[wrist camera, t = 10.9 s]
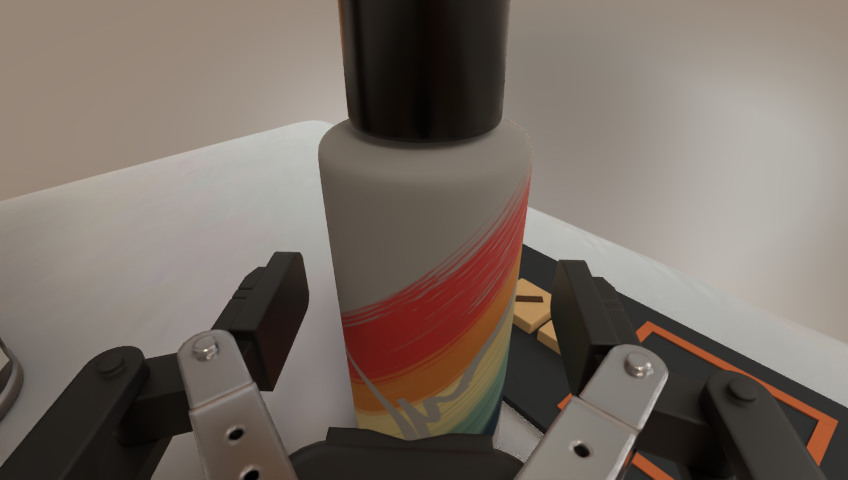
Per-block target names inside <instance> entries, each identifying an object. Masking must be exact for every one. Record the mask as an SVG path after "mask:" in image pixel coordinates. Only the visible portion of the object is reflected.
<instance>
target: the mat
mask: <svg viewBox="0 0 848 480" xmlns="http://www.w3.org/2000/svg"><path fill="white" fill-rule="evenodd" d="M557 263H558V261H556V260H554V259H552V258H550V257H548V256H546V255H544V254H542V253H540V252H538V251H536V250H534V249H532V248H530V247H528V246H526V245H524V244H522V252H521V259H520V267H519V275H518V283H517V290H516V298H515V306H514V314H513V321H512V329H511V337H510V345H509V352H508V360H507V368H506V376H505V384H504V391H503V400H504V401H505V402H507V403H508V404H509V405H510V406H511V407H513V408H514V409H515V410H516V411H518V412H519V413H520V414H521V415H523V416H524V417H525V418H526V419H527V420H529V421H530V422H531V423H532V424H534V425H535V426H536V427H537V428H538V429H540V430H541V431H542V432H543V433H545V434H546V432H547V431H548V429H549V428H550V426H551V425H552V423H553V422H554V421H555V419H556V418H557V416H558V415H559V413H560V412H561V411H562V409H563V408H564V406H565V405H566V403H567V402H568V401H569V399H570V398H571V397H572V395H571V391H570V387H569V384H568V380H567V376H566V372H565V369H564V365H563V361H562V357H561V354H560V350H559V346H558V342H557V339H556V335H555V331H554V327H553V324H552V320H551V314H550V301H551V294H552V289H553V283H554V278H555V273H556V267H557ZM616 292H617V291H616ZM617 294H618V296H619V298H620V303H622V305H623V307H624V309H625V313H627V315H628V317H629V319H630V321H631V323H632V325H633V327H634V330H635V332H636V334H637V336H638V338H639V340H640V342H641V344H642V346H643V348H645V349H648V350H650V351H651V352H653V353H655V354H656V355H657V356H658V357H660V358H661V360H662V361H663V362H664V363H665V365H666V367H667V369H668V370H669V371H671V372H674V373H677V374H680V375H683V376H687V377H690V378H694V379H698V380H701V381H705V382H706V380H707V378H708V376H709V375H710V374H711V373H713V372H715V371H719V370H730V371H735V372H739V373H742V374H745V375H747V376H749V377H751V378H753V379H755V380H756V381H758V382H759V383H761V384H762V385H763V386H764V387H765V388H767V390H768V391H769V392H770V393H771V394H772V395H773V397H774V398H775V400H776V401H777V403H778V404H779V406H780V408H781V409H782V411H783V412H784V414H785V415H786V417H787V418H788V420H789V421H790V423H791V424H792V426H793V428H794V429H795V431H796V432H797V434H798V435H799V437H800V438H801V440H802V441H803V443H804V444H805V446H806V447H807V449H808V451H809V452H810V454H811V455H812V457H813V458H814V460H815V461H816V463H817V464H818V466H819V467H820V469H821V471H822V472H823V474H824V475H825V477H826V478H827V480H848V408H847V407H845V406H843V405H841V404H839V403H837V402H835V401H833V400H831V399H829V398H827V397H825V396H823V395H821V394H819V393H817V392H815V391H813V390H811V389H809V388H807V387H805V386H803V385H801V384H799V383H797V382H795V381H793V380H791V379H789V378H787V377H785V376H783V375H781V374H779V373H777V372H776V371H774V370H772V369H770V368H768V367H766V366H764V365H762V364H760V363H758V362H756V361H754V360H752V359H750V358H748V357H746V356H744V355H742V354H740V353H738V352H736V351H734V350H732V349H730V348H728V347H726V346H724V345H722V344H720V343H718V342H716V341H714V340H712V339H710V338H708V337H706V336H704V335H702V334H700V333H698V332H696V331H694V330H692V329H690V328H688V327H686V326H684V325H683V324H681V323H679V322H677V321H675V320H673V319H671V318H669V317H667V316H665V315H663V314H661V313H659V312H657V311H655V310H653V309H651V308H649V307H647V306H645V305H643V304H641V303H639V302H637V301H635V300H633V299H631V298H629V297H627V296H625V295H623V294H621V293H619V292H617ZM624 480H681V478H680V475H679V472H678V470H677V467H676V464H675V462H672V461H669V460H666V459H663V458H660V457H657V456H654V455H651V454H648V453H645V452H642V451H640V450H638V451H637V453H636V455H635V457H634V459H633V461H632V463H631V465H630V467H629V469H628V472H627V474H626V476H625V478H624Z"/></svg>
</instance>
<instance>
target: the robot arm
mask: <svg viewBox="0 0 848 480" xmlns="http://www.w3.org/2000/svg"><path fill="white" fill-rule="evenodd" d="M308 304H309V289H308V284H307V278H306V273H305V267H304V262H303V257H302V254H301V253H300V252H275V253H274V254H273V256H272V258H271V259H270V261H269V262H268V264H267V266H266V267H258V268H256V269H255V270H254V271H252V272H251V273H250V274H248V275H247V276H246V277H245V278H244V280H243V281H242V283H241V284H240V286H239V287H238V290H236V292H235V293H234V295H233V296H232V299H231V300H230V301H229V303H228V304H227V306H226V307H225V309H224V310H223V312H222V313H221V315H220V316H219V318H218V319H217V321H216V322H215V324H214V325H213V327H212V328H211V330H209V331H205V332H202V333H199V334H197V335H195V336H193V337H191V338H190V339H188V340H187V341H186V342H185V343H184V344H183V345H182V346H181V347H180V349H179V350H178V352H177V353H173V354H168V355H164V356H159V357H154V358H149V359H145V357H144V355H143V353H142V351H141V350H140V349H139V348H136V347H133V346H122V347H116V348H113V349H110V350H107V351H105V352H103V353H101V354H99V355H97V356H96V357H94V358H93V359H91V360H90V361H89V362H88V363H87V364H86V365H85V366H84V367H83V368H82V370H81V371H80V372H79V373H78V374H77V376H76V377H75V378H74V379H73V380H72V382H71V383H70V384H69V385H68V386H67V388H66V389H65V390H64V391H63V392H62V394H61V395H60V396H59V397H58V398H57V400H56V401H55V402H54V403H53V404H52V406H51V407H50V408H49V409H48V410H47V412H46V413H45V414H44V415H43V417H42V418H41V419H40V420H39V421H38V423H37V424H36V425H35V426H34V427H33V429H32V430H31V431H30V432H29V433H28V435H27V436H26V437H25V438H24V439H23V441H22V442H21V443H20V444H19V445H18V447H17V448H16V449H15V450H14V451H13V453H12V454H11V455H10V456H9V457H8V459H7V460H6V461H5V462H4V464H3V465H2V466H1V467H0V480H150V479H151V477H152V475H153V473H154V471H155V470H156V468H157V466H158V464H159V462H160V460H161V458H162V456H163V454H164V452H165V450H166V449H167V447H168V445H169V443H170V441H171V439H172V437H173V436H175V435H179V434H183V433H187V432H191V431H193V432H194V436H195V440H196V443H197V447H198V451H199V455H200V459H201V462H202V466H203V470H204V474H205V478H206V480H624V478H625V476H626V474H627V472H628V469H629V467H630V465H631V463H632V461H633V459H634V457H635V455H636V453H637V451H638V450H640V451H642V452H645V453H648V454H651V455H654V456H657V457H660V458H663V459H666V460H669V461H672V462H675V464H676V467H677V470H678V472H679V475H680V478H681V480H827V478H826V477H825V475H824V474H823V472H822V471H821V469H820V467H819V466H818V464H817V463H816V461H815V460H814V458H813V457H812V455H811V454H810V452H809V451H808V449H807V447H806V446H805V444H804V443H803V441H802V440H801V438H800V437H799V435H798V434H797V432H796V431H795V429H794V428H793V426H792V424H791V423H790V421H789V420H788V418H787V417H786V415H785V414H784V412H783V411H782V409H781V408H780V406H779V404H778V403H777V401H776V400H775V398H774V397H773V395H772V394H771V393H770V392H769V391H768V390H767V388H765V387H764V386H763V385H762V384H761V383H759V382H758V381H756V380H755V379H753V378H751V377H749V376H747V375H745V374H742V373H739V372H735V371H730V370H719V371H715V372H713V373H711V374H710V375H709V376H708V378H707V380H706V382H705V381H701V380H698V379H694V378H690V377H687V376H683V375H680V374H677V373H674V372H671V371H669V370H668V369H667V367H666V365H665V363H664V362H663V361H662V360H661V358H660V357H658V356H657V355H656V354H655V353H653V352H651V351H650V350H648V349H645V348H643V346H642V344H641V342H640V340H639V338H638V336H637V334H636V332H635V330H634V327H633V325H632V323H631V321H630V319H629V317H628V315H627V313H625V309H624V307H623V305H622V303H620V298H619V296H618V294H617V292H616V290H615V288H614V287H613V286H612V285H611V284H609V283H608V282H607V281H606V280H605V279H604V278H603V277H592V275H591V273H590V271H589V268H588V266H587V264H586V262H585V261H584V260H559V261H558V263H557V267H556V273H555V278H554V283H553V289H552V294H551V301H550V314H551V320H552V324H553V327H554V331H555V335H556V339H557V342H558V346H559V350H560V354H561V357H562V361H563V365H564V369H565V372H566V376H567V380H568V384H569V387H570V391H571V395H572V397H571V398H570V399H569V401H568V402H567V403H566V405H565V406H564V408H563V409H562V411H561V412H560V413H559V415H558V416H557V418H556V419H555V421H554V422H553V423H552V425H551V426H550V428H549V429H548V431H547V432H546V434H545V435H544V436H543V438H542V439H541V441H540V442H539V444H538V445H537V446H536V448H535V449H534V451H533V452H532V454H531V455H530V456H529V458H528V459H527V461H526V462H525V464H524V463H523V462H522V461H520V460H519V459H517V458H515V457H514V456H512V455H510V454H508V453H505V452H503V451H501V450H498V449H495V448H493V439H492V435H486V434H465V433H448V434H443V435H438V436H432V437H427V438H422V439H417V440H404V439H400V438H397V437H394V436H390V435H387V434H384V433H380V432H377V431H374V430H370V429H359V428H338V427H329V429H328V433H327V437H326V440H324V441H320V442H316V443H313V444H310V445H308V446H306V447H303V448H301V449H299V450H297V451H296V452H294V453H292V454H291V455H289V456H288V455H287V452H286V450H285V448H284V446H283V443H282V441H281V439H280V437H279V434H278V432H277V430H276V428H275V425H274V423H273V421H272V419H271V416H270V414H269V412H268V410H267V407H266V405H265V403H264V400H263V398H262V396H261V394H260V391H272V392H273V390H274V387H275V385H276V383H277V380H278V378H279V375H280V373H281V371H282V368H283V366H284V364H285V361H286V359H287V356H288V354H289V352H290V349H291V347H292V345H293V342H294V340H295V337H296V335H297V333H298V330H299V328H300V326H301V323H302V321H303V318H304V316H305V314H306V311H307V308H308ZM22 382H23V370H22V367H21V365H20V363H19V362H18V360H17V359H16V358H15V356H14V355H13V353H12V352H11V351H10V350H9V349H8V348H7V347H6V346H5V344H4V343H3V341H2V340H1V338H0V419H1V418H2V417H3V416H4V415H5V413H6V412H7V411H8V410H9V408H10V407H11V405H12V404H13V402H14V401H15V399H16V397H17V395H18V393H19V391H20V389H21V386H22Z"/></svg>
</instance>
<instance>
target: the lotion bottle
mask: <svg viewBox="0 0 848 480" xmlns="http://www.w3.org/2000/svg"><path fill="white" fill-rule="evenodd" d="M509 9H510V0H338V11H339V22H340V32H341V44H342V55H343V66H344V76H345V87H346V97H347V108H348V117H349V119H347V120H345V121H343V122H341V123H339V124H337V125H335V126H334V127H332V128H331V129H330V130H329V131H327V132H326V134H325V135H324V136H323V138H322V140H321V142H320V144H319V151H318V160H319V169H320V177H321V185H322V192H323V199H324V206H325V213H326V220H327V227H328V234H329V241H330V247H331V254H332V261H333V267H334V274H335V281H336V287H337V294H338V301H339V307H340V314H341V321H342V327H343V334H344V341H345V347H346V354H347V361H348V367H349V374H350V381H351V387H352V394H353V401H354V407H355V414H356V421H357V427H358V428H359V429H370V430H374V431H377V432H380V433H384V434H387V435H390V436H394V437H397V438H400V439H404V440H417V439H422V438H427V437H432V436H438V435H443V434H448V433H465V434H486V435H492V439H493V448H495V449H496V445H497V438H498V430H499V422H500V415H501V407H502V399H503V391H504V384H505V376H506V368H507V360H508V352H509V345H510V337H511V329H512V321H513V314H514V306H515V298H516V290H517V283H518V275H519V267H520V259H521V252H522V244H523V236H524V228H525V220H526V213H527V204H528V196H529V188H530V179H531V170H532V158H533V157H532V156H533V152H532V142H531V140H530V138H529V136H528V135H527V133H526V132H525V131H524V130H523V129H522V128H521V127H520V126H518V125H517V124H515V123H513V122H511V121H510V120H507V119H505V118H502V111H503V98H504V83H505V68H506V54H507V40H508V39H507V38H508V24H509V11H510V10H509Z"/></svg>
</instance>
